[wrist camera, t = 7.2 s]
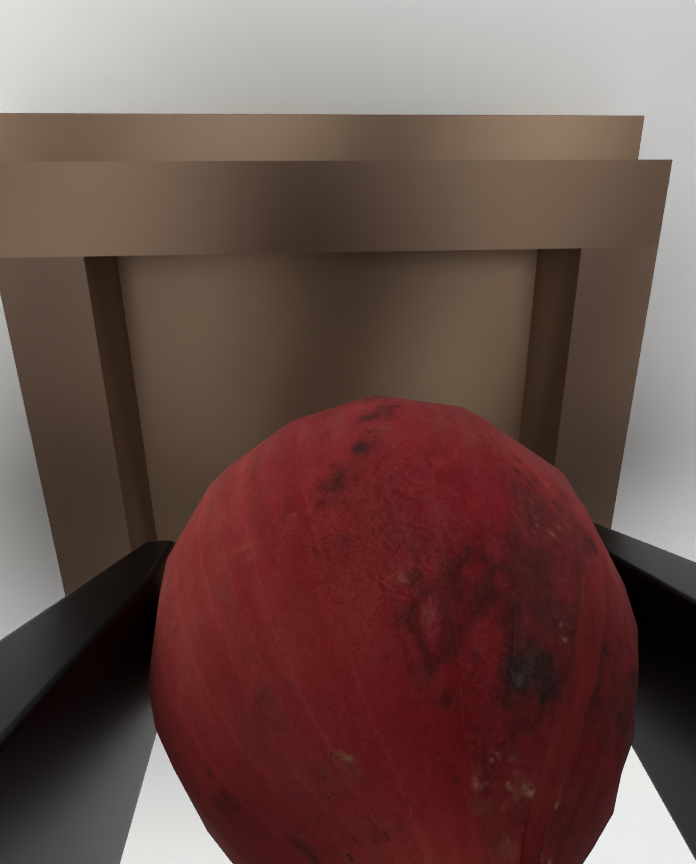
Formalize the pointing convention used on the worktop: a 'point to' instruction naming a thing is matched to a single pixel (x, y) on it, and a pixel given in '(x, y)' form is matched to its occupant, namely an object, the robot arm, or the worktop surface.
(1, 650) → the robot arm
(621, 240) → the walnut holder
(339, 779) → the onion
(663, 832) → the worktop surface
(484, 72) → the worktop surface
